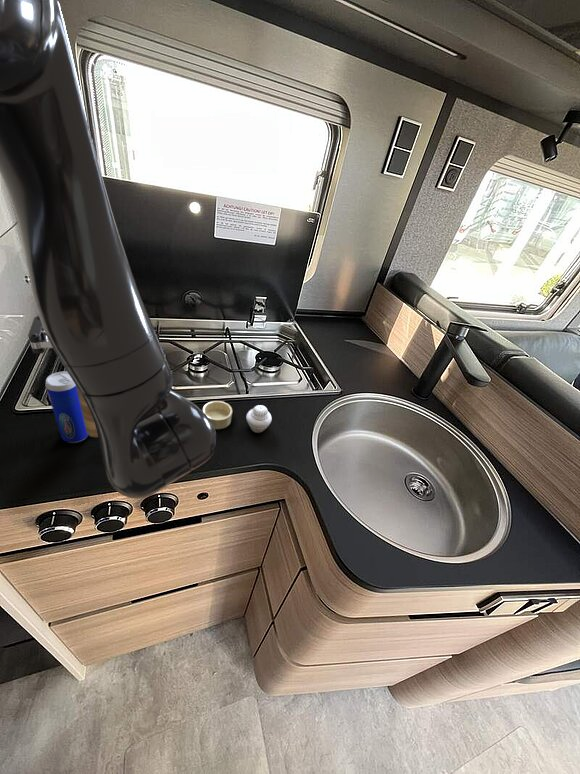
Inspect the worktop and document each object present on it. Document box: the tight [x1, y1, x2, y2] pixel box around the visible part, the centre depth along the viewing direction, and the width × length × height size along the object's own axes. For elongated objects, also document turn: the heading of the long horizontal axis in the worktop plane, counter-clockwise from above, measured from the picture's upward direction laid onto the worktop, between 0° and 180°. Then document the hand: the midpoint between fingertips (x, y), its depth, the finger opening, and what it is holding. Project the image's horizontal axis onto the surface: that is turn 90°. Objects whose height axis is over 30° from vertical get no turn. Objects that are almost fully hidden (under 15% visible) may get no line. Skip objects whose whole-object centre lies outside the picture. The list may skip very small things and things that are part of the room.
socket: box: [201, 400, 233, 430], centre depth 81 cm, size 7×7×3 cm
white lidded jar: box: [245, 404, 273, 434], centre depth 80 cm, size 6×6×7 cm
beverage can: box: [45, 371, 89, 444], centre depth 66 cm, size 5×5×15 cm
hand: (71, 307), depth 51 cm, fingers closed on post, 4 cm apart
